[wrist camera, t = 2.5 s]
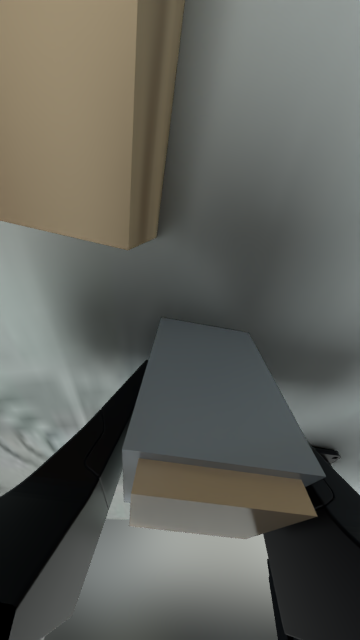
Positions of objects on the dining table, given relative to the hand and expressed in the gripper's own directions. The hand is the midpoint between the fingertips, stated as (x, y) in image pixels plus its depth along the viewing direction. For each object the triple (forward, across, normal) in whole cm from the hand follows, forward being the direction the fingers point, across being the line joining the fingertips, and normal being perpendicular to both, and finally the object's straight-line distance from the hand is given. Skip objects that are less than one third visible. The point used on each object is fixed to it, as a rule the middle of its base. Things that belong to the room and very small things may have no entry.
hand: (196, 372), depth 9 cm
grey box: (+1, 0, 0) cm, 1 cm away
